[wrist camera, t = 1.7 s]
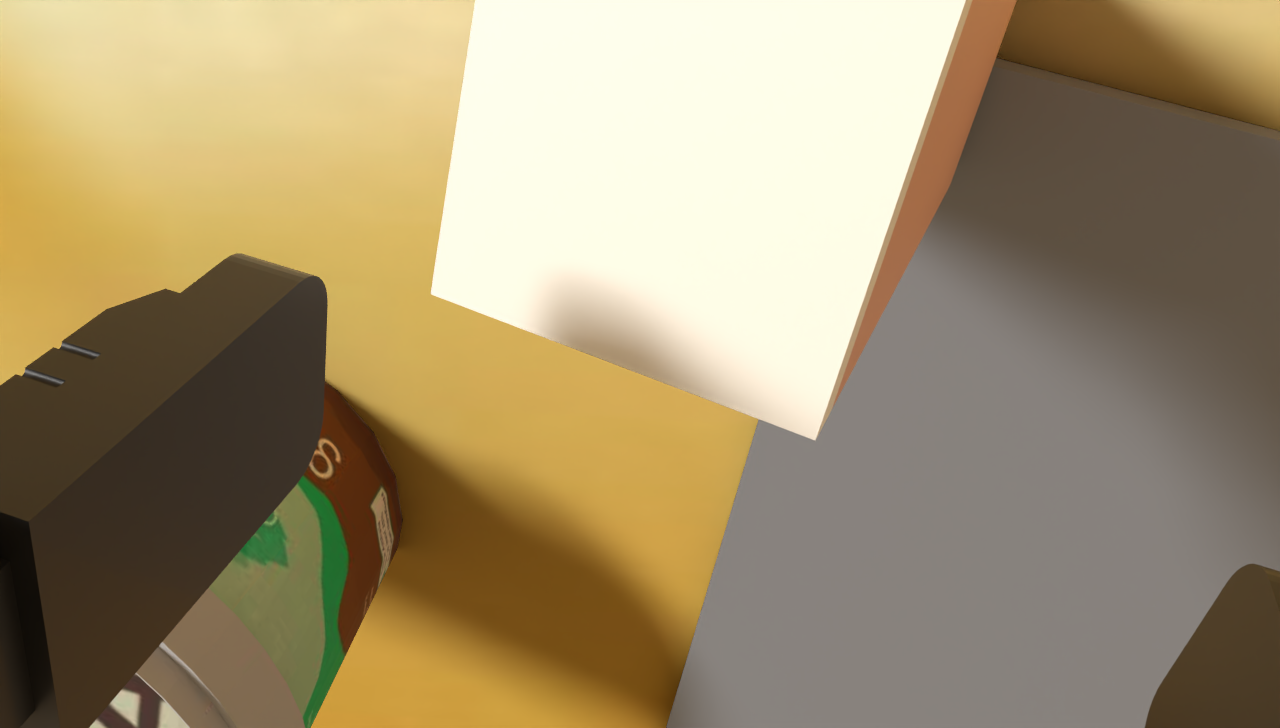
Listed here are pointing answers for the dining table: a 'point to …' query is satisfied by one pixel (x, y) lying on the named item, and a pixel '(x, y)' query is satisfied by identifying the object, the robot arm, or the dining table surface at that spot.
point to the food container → (279, 599)
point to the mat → (1023, 440)
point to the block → (708, 180)
